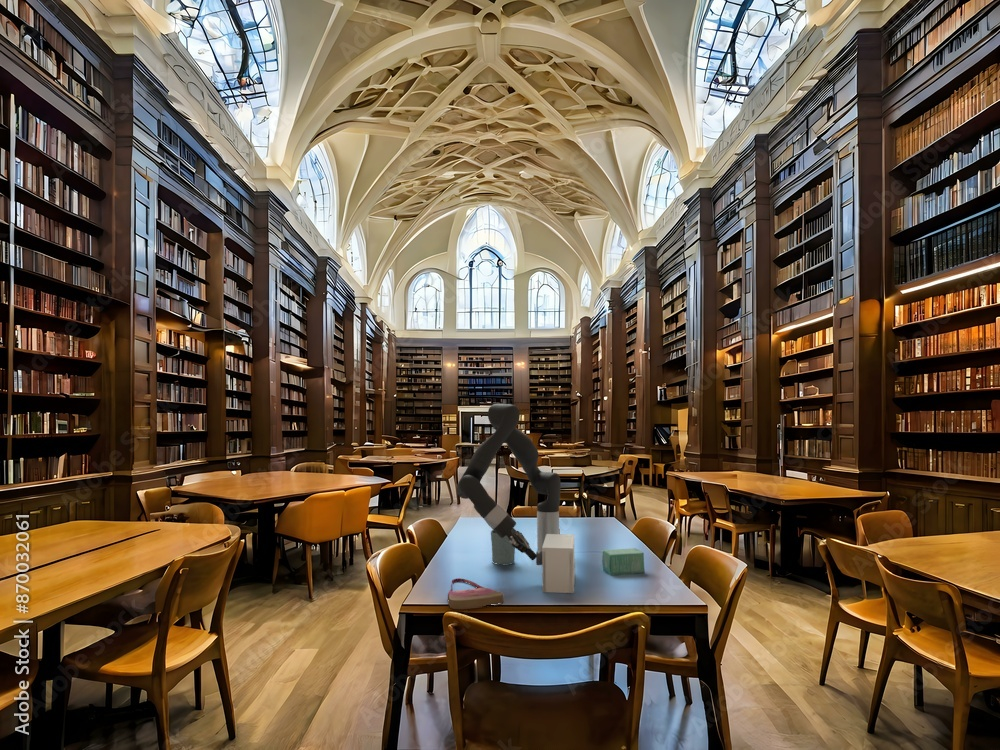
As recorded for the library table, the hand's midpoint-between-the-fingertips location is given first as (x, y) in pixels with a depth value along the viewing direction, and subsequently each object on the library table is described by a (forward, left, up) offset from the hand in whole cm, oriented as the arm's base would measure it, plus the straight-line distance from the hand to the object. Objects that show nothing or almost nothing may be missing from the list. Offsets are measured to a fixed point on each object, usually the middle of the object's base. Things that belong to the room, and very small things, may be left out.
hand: (535, 558), depth 191 cm
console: (-4, +7, -8) cm, 11 cm away
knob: (-2, +4, -2) cm, 5 cm away
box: (-31, +18, -8) cm, 36 cm away
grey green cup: (-14, -25, -8) cm, 30 cm away
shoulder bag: (+24, -10, -9) cm, 27 cm away
